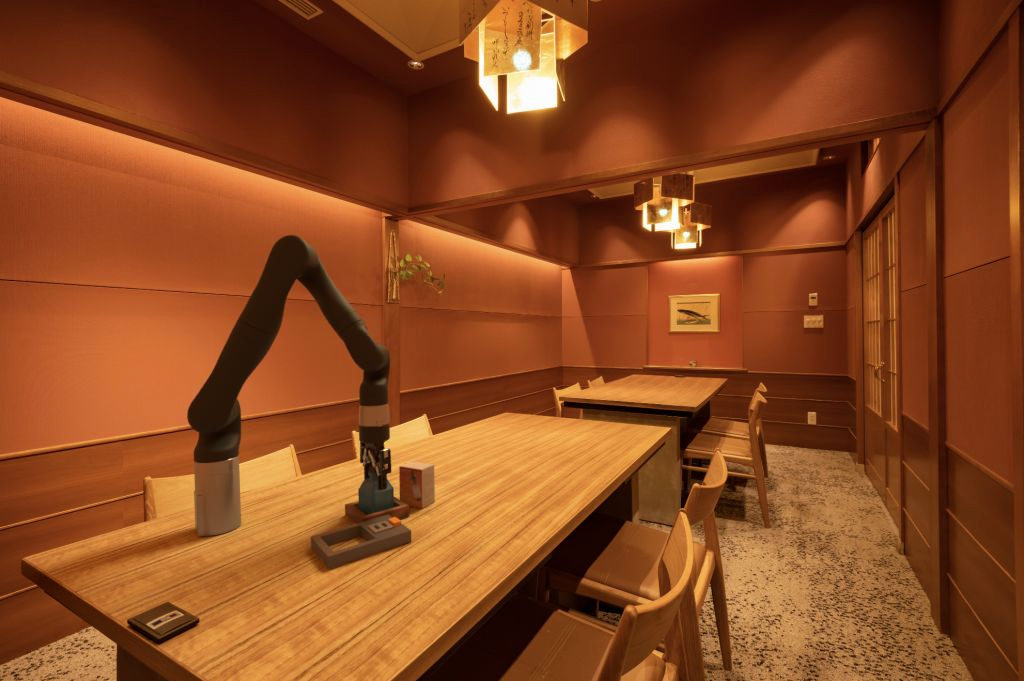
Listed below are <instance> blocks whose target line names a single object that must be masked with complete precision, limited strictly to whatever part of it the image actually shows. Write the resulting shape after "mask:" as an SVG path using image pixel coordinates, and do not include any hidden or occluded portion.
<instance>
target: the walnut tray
mask: <svg viewBox="0 0 1024 681" xmlns="http://www.w3.org/2000/svg"><path fill="white" fill-rule="evenodd" d="M344 514H345V517H347V518H348V519H349V520H350V521H351V522H352V523H354V524H356V523H360V522H363V521H367V520H370V519H374V518H377V517H381V516H384V515H390V516H391V517H396V518H398V519H399V520H403V519H406V518H409V517H410V505H407V504H405V503H404V502H402V501H401V500H400V498H397V497H396V496H394V508H390V509H386V510H383V511H379V512H376V513H372V514H368V515H366V514H364V513H363V512H362V511H360V510H359V500H357V501H354V502H348V503H345V504H344Z"/></svg>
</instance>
